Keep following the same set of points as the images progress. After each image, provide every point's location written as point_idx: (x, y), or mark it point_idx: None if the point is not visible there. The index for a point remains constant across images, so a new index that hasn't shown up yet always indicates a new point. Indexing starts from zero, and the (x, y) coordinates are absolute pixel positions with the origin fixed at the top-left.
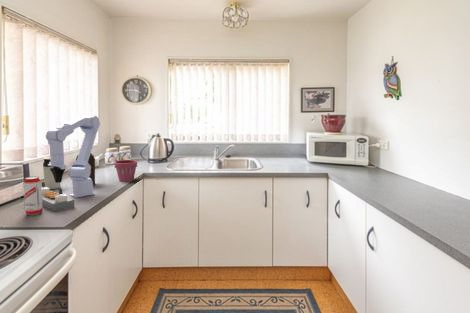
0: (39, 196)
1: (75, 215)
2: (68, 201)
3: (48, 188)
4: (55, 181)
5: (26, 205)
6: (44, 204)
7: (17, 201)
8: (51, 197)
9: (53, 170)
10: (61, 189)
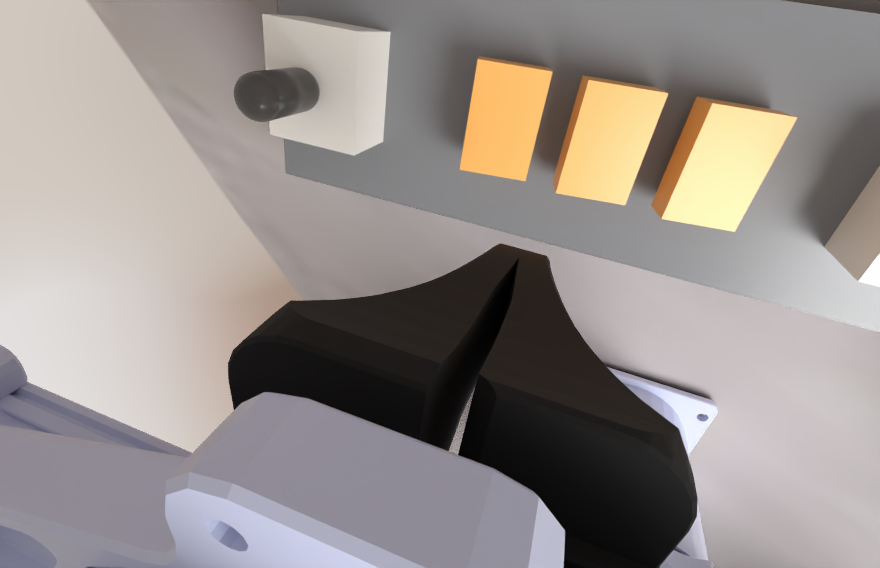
0: None
1: (123, 9)
2: None
3: (869, 268)
4: (537, 257)
5: None
6: None
7: None
8: (493, 58)
9: (321, 313)
10: (237, 99)
